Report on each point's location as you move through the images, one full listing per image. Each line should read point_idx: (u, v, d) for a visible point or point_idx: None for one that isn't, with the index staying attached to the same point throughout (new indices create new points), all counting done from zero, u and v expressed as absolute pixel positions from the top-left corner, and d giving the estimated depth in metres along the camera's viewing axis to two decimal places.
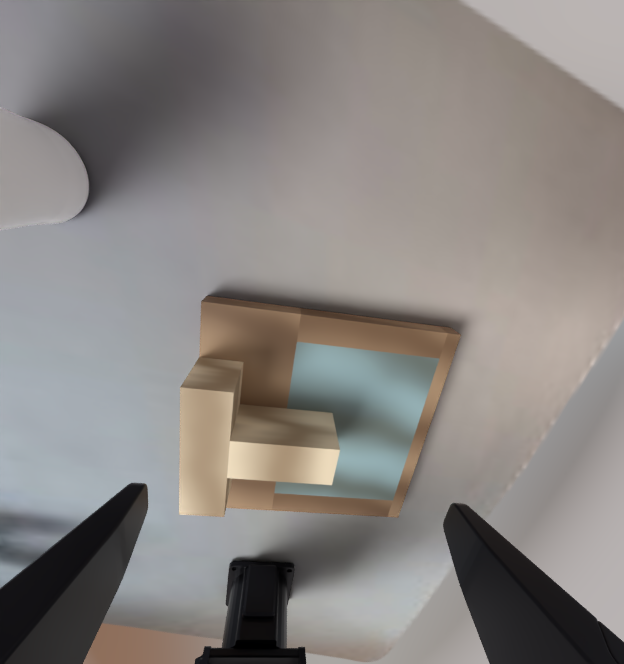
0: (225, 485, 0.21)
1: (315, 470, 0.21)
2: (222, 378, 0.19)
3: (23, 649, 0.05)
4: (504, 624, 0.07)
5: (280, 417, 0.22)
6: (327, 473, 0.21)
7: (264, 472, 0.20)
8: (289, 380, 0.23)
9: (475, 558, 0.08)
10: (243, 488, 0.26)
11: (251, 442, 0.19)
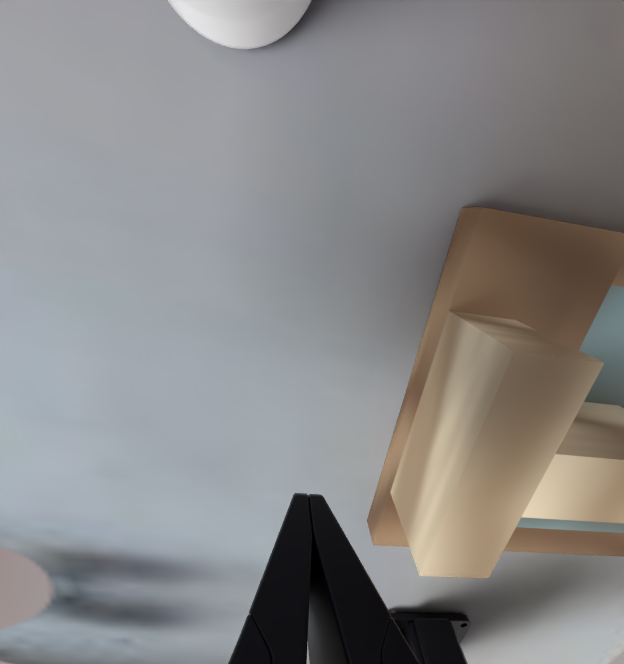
0: (513, 529, 0.12)
1: None
2: (541, 340, 0.11)
3: None
4: (317, 621, 0.07)
5: None
6: None
7: (585, 507, 0.12)
8: None
9: None
10: None
11: (587, 455, 0.11)
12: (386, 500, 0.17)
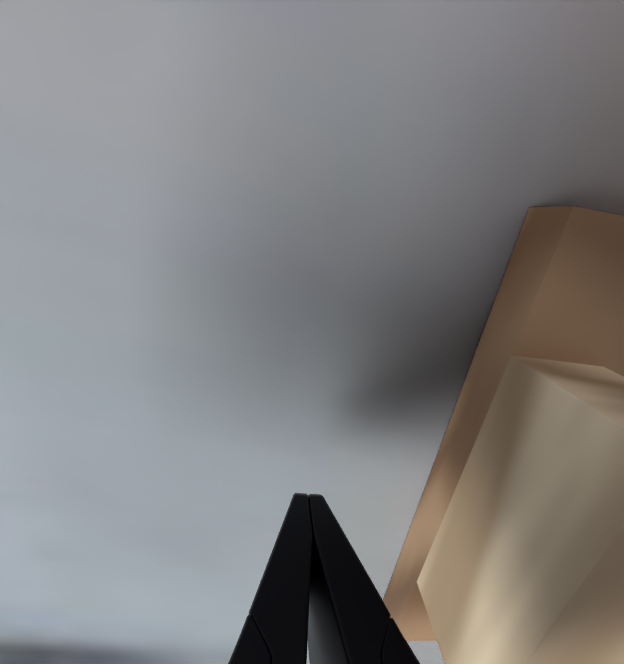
0: None
1: None
2: None
3: None
4: (317, 621, 0.07)
5: None
6: None
7: None
8: None
9: None
10: None
11: None
12: (411, 590, 0.13)
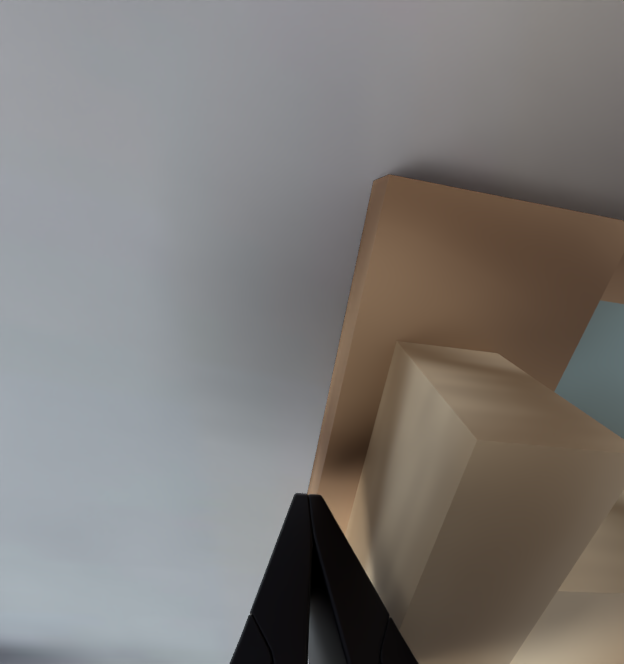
0: None
1: None
2: (532, 400, 0.06)
3: None
4: (316, 621, 0.07)
5: None
6: None
7: (606, 656, 0.07)
8: None
9: None
10: None
11: (611, 590, 0.07)
12: None
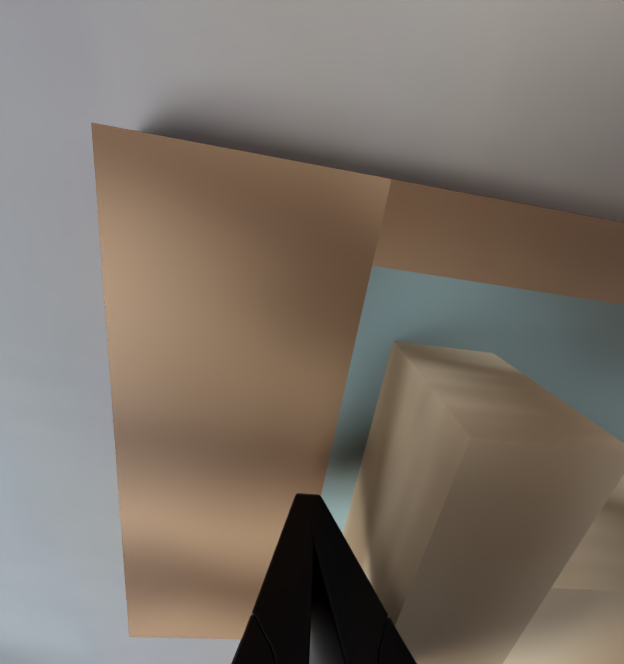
0: None
1: None
2: (526, 399, 0.06)
3: None
4: (315, 621, 0.07)
5: None
6: None
7: (600, 653, 0.07)
8: (344, 373, 0.09)
9: None
10: (230, 604, 0.12)
11: (605, 587, 0.07)
12: (126, 581, 0.12)
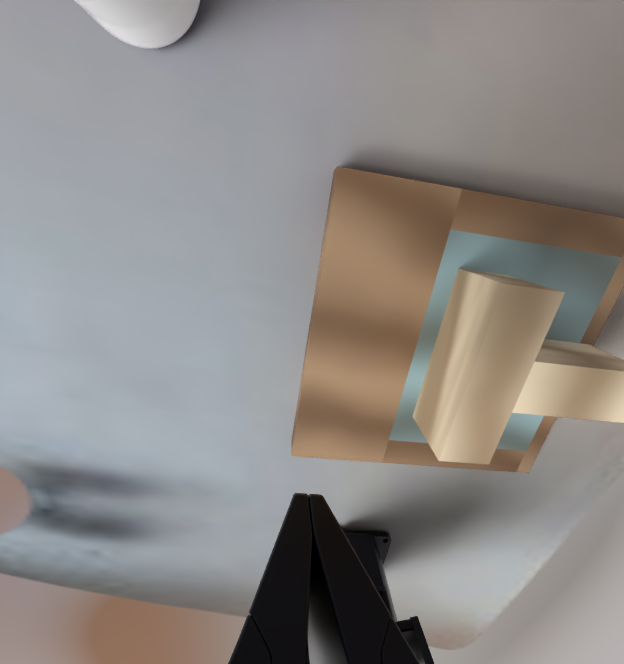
0: (506, 422, 0.17)
1: (617, 403, 0.17)
2: (523, 282, 0.15)
3: None
4: (317, 621, 0.07)
5: (546, 345, 0.18)
6: None
7: (558, 405, 0.16)
8: (431, 285, 0.18)
9: None
10: (353, 433, 0.21)
11: (557, 363, 0.15)
12: (297, 415, 0.20)
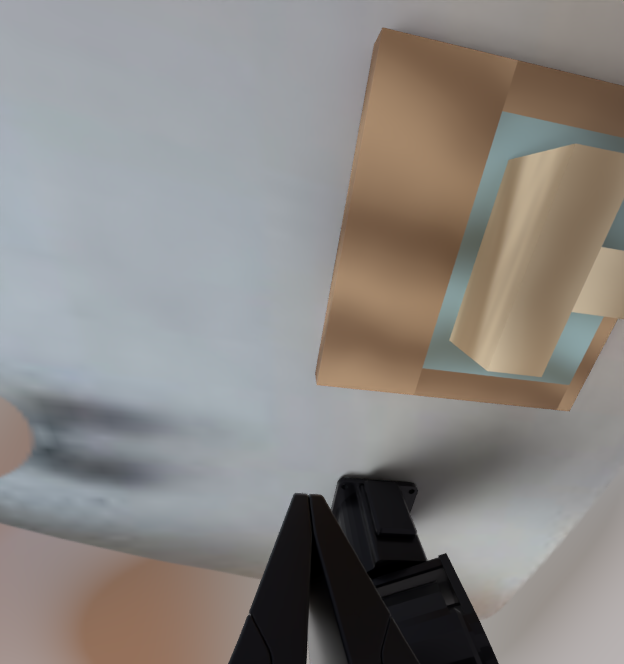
0: (564, 324, 0.15)
1: None
2: None
3: None
4: (317, 621, 0.07)
5: None
6: None
7: (622, 304, 0.15)
8: (478, 180, 0.16)
9: None
10: (384, 359, 0.19)
11: None
12: (325, 336, 0.19)
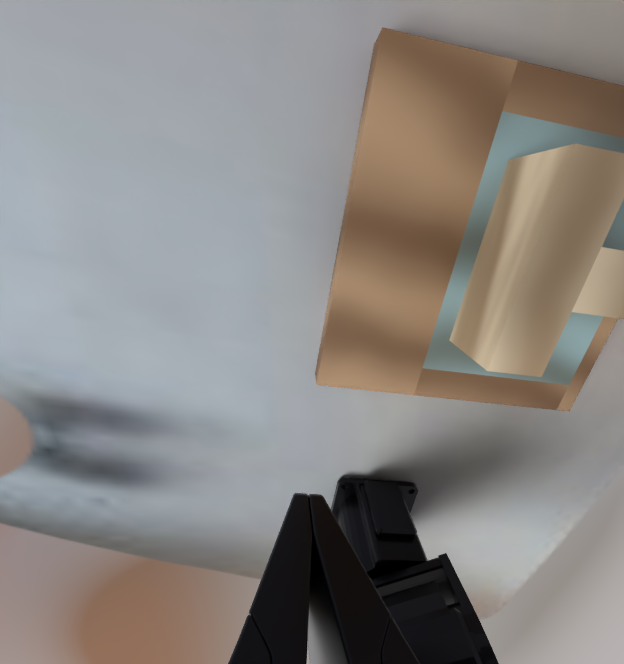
0: (564, 324, 0.15)
1: None
2: None
3: None
4: (317, 621, 0.07)
5: None
6: None
7: (622, 304, 0.15)
8: (478, 180, 0.16)
9: None
10: (384, 359, 0.19)
11: None
12: (325, 336, 0.19)
